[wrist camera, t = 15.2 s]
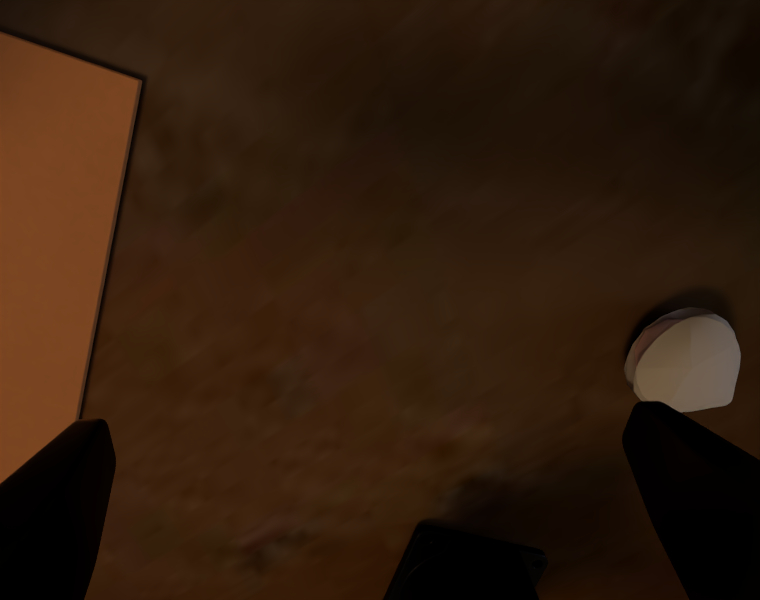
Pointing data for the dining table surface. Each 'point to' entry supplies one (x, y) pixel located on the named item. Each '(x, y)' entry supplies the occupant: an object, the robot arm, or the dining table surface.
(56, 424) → the cloth
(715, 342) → the grey rounded piece
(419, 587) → the robot arm
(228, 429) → the dining table surface
